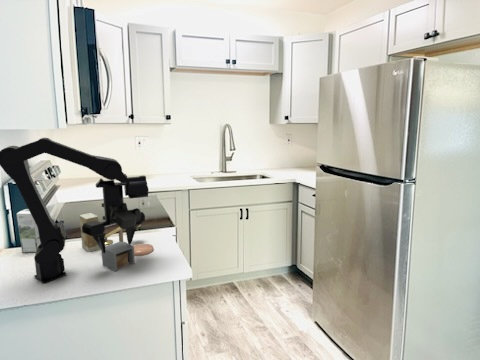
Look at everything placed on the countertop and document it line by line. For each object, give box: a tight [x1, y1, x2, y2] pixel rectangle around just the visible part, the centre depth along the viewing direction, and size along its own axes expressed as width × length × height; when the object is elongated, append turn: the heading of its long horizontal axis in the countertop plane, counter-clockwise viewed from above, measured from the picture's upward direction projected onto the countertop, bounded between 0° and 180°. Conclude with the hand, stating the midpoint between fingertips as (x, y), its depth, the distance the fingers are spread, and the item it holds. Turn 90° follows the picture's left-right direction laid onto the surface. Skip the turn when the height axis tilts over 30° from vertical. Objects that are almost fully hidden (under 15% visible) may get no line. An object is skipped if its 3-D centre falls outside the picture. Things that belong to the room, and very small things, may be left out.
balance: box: [104, 224, 142, 246], centre depth 123 cm, size 16×4×9 cm, turn 142°
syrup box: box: [16, 208, 41, 254], centre depth 121 cm, size 6×6×14 cm
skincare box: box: [79, 212, 101, 253], centre depth 122 cm, size 6×4×12 cm
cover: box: [101, 241, 136, 272], centre depth 109 cm, size 7×7×6 cm
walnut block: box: [116, 252, 129, 269], centre depth 109 cm, size 4×4×4 cm
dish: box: [132, 243, 154, 257], centre depth 120 cm, size 9×9×1 cm
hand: (117, 248), depth 109 cm, fingers open, 9 cm apart
